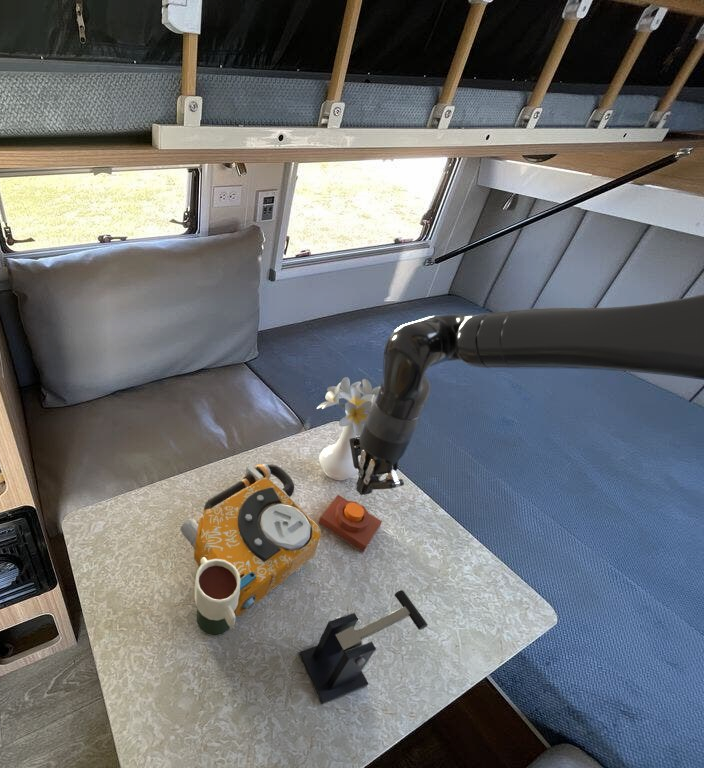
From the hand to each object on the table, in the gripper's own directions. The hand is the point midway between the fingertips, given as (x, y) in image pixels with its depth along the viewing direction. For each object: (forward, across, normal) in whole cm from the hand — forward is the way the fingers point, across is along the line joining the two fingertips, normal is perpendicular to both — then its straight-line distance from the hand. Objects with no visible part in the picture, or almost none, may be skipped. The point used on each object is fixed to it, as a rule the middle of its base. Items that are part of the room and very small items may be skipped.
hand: (362, 491), depth 79 cm
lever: (-1, -22, +14) cm, 26 cm away
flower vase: (+11, +14, -7) cm, 19 cm away
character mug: (+11, -10, +34) cm, 37 cm away
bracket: (+11, -22, +18) cm, 31 cm away
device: (+11, +3, +21) cm, 24 cm away
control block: (+11, 0, 0) cm, 11 cm away
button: (+7, 0, 0) cm, 7 cm away
